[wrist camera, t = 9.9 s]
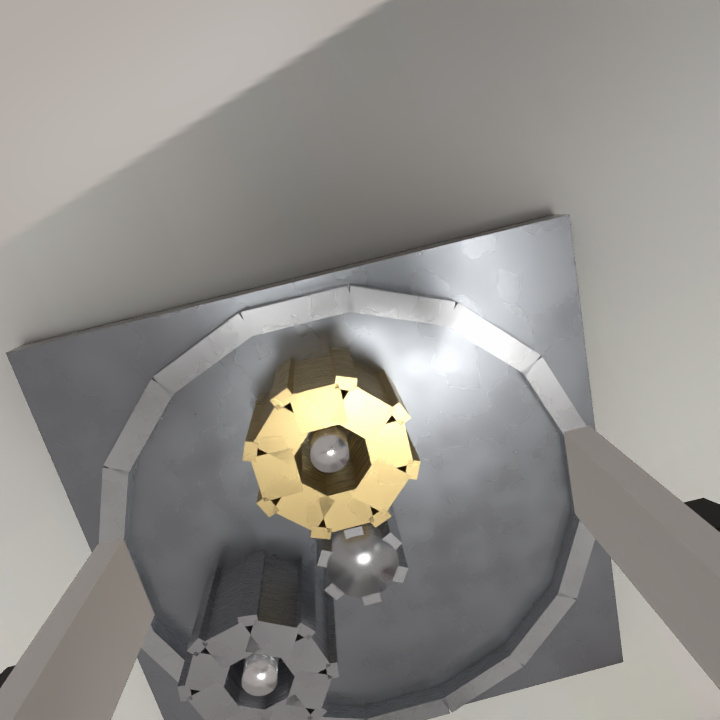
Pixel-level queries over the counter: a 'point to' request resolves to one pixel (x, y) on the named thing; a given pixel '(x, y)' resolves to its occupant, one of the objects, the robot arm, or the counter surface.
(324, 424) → the planet gear
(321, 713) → the seated gear
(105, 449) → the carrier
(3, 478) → the counter surface
